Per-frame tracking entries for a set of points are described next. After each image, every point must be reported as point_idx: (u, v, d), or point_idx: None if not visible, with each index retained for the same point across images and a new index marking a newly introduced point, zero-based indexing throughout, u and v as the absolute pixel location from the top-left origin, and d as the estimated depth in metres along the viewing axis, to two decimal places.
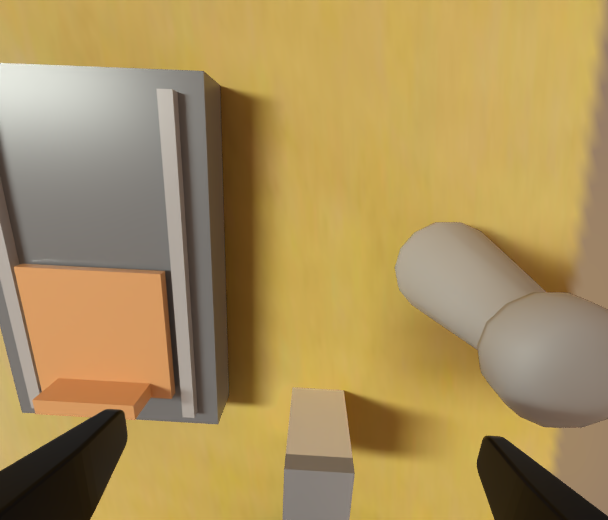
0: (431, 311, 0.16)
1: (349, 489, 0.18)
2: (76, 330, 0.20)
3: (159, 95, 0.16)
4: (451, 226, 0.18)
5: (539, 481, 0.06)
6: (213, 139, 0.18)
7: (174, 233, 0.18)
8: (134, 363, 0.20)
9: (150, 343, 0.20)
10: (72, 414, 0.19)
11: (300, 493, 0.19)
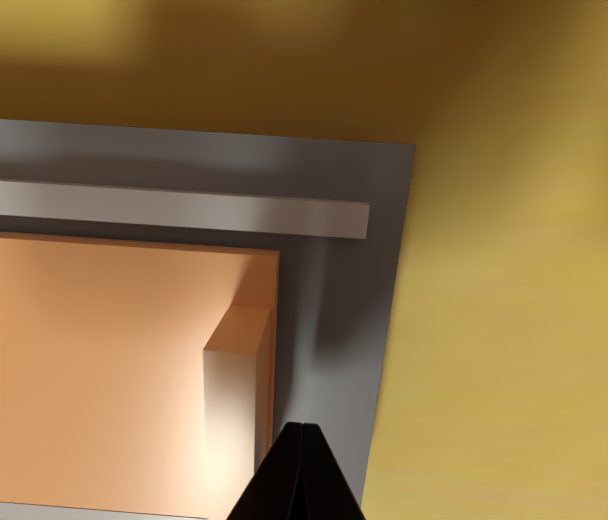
0: None
1: None
2: (107, 432, 0.09)
3: None
4: None
5: (314, 465, 0.06)
6: None
7: None
8: (172, 331, 0.08)
9: (110, 285, 0.08)
10: None
11: None
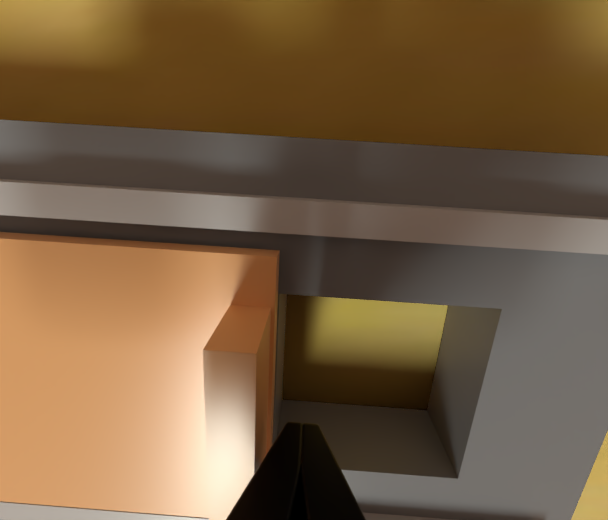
0: None
1: None
2: (107, 432, 0.09)
3: None
4: None
5: (314, 465, 0.06)
6: None
7: (125, 207, 0.08)
8: (173, 331, 0.08)
9: (111, 285, 0.08)
10: None
11: None
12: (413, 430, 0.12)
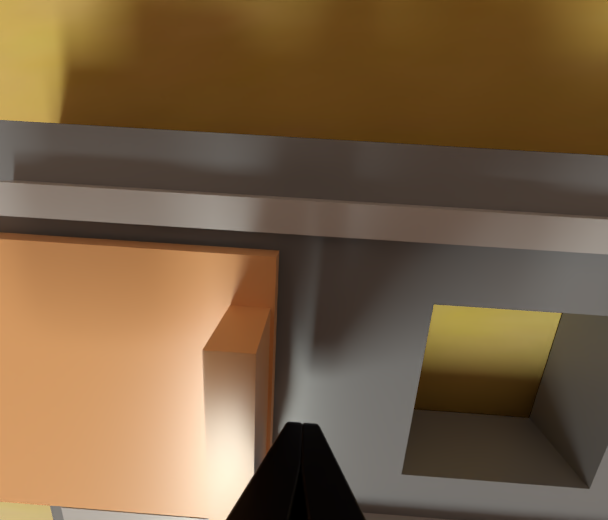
0: None
1: None
2: (107, 432, 0.09)
3: (8, 210, 0.08)
4: None
5: (314, 465, 0.06)
6: None
7: (300, 218, 0.07)
8: (173, 332, 0.08)
9: (111, 285, 0.08)
10: None
11: None
12: (525, 438, 0.12)
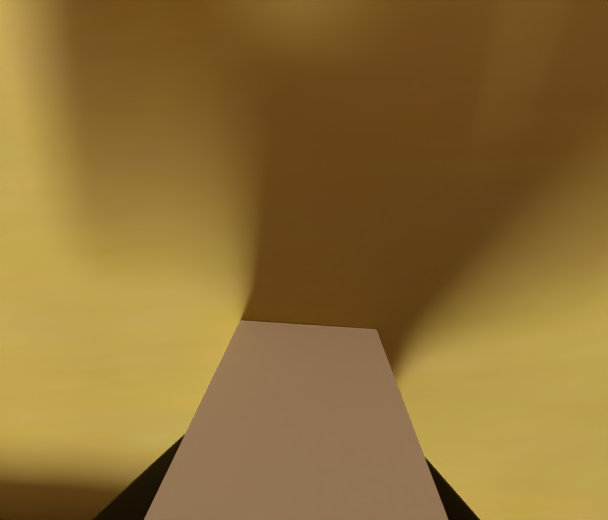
0: None
1: None
2: None
3: None
4: None
5: None
6: None
7: None
8: None
9: None
10: None
11: None
12: None
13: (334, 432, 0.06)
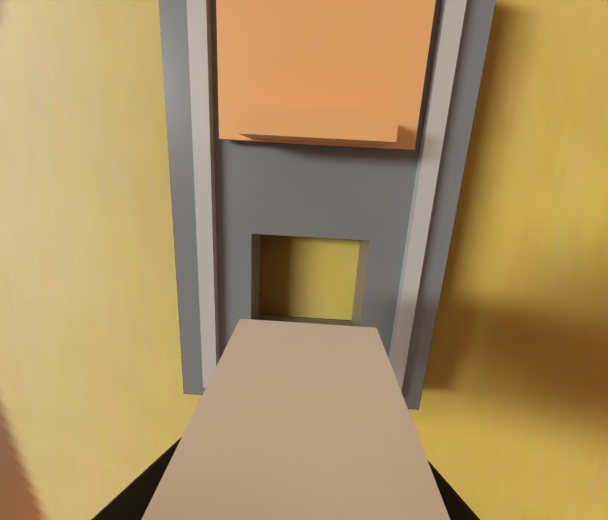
0: None
1: None
2: (292, 18, 0.13)
3: None
4: None
5: None
6: None
7: (429, 167, 0.14)
8: (371, 81, 0.13)
9: (404, 42, 0.13)
10: (297, 133, 0.12)
11: None
12: (256, 310, 0.19)
13: (334, 430, 0.06)
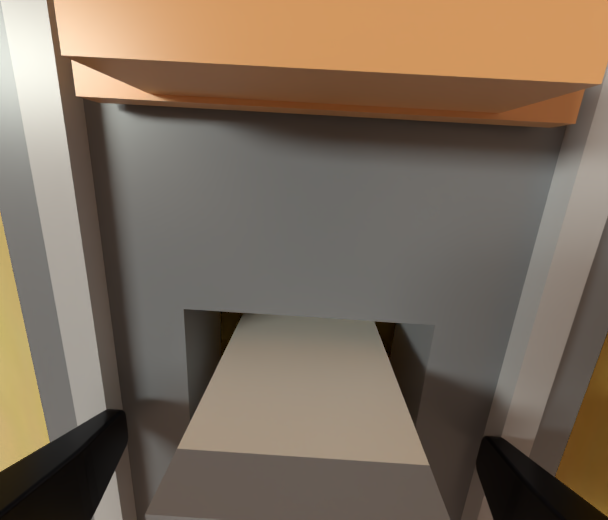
0: None
1: None
2: None
3: None
4: None
5: (538, 481, 0.06)
6: None
7: (599, 169, 0.06)
8: None
9: None
10: (262, 52, 0.04)
11: None
12: None
13: (330, 375, 0.07)
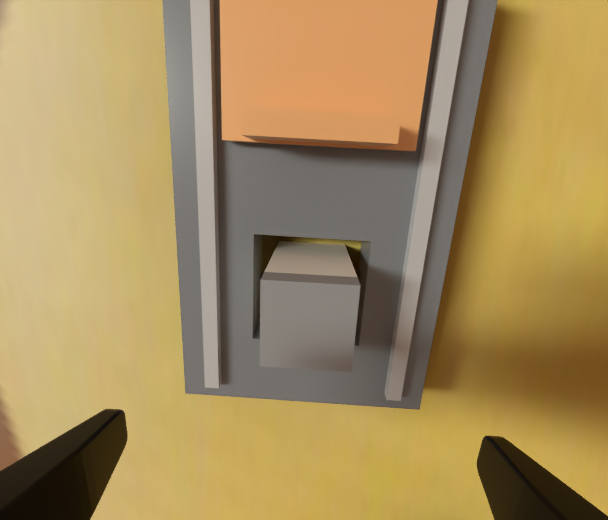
0: None
1: (291, 285, 0.13)
2: (295, 21, 0.13)
3: None
4: None
5: (539, 481, 0.06)
6: None
7: (430, 168, 0.15)
8: (373, 83, 0.13)
9: (406, 45, 0.13)
10: (300, 134, 0.12)
11: (301, 348, 0.14)
12: (258, 310, 0.20)
13: (322, 261, 0.16)
